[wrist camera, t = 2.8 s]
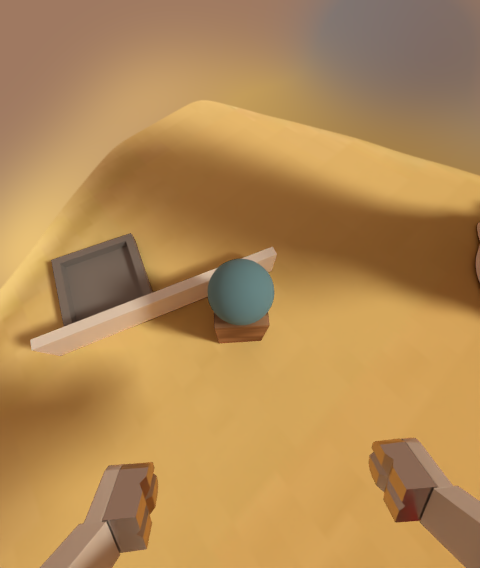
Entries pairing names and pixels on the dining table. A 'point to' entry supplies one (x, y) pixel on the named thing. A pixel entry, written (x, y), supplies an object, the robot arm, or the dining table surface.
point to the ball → (240, 292)
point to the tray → (99, 278)
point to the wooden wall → (134, 311)
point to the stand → (240, 330)
